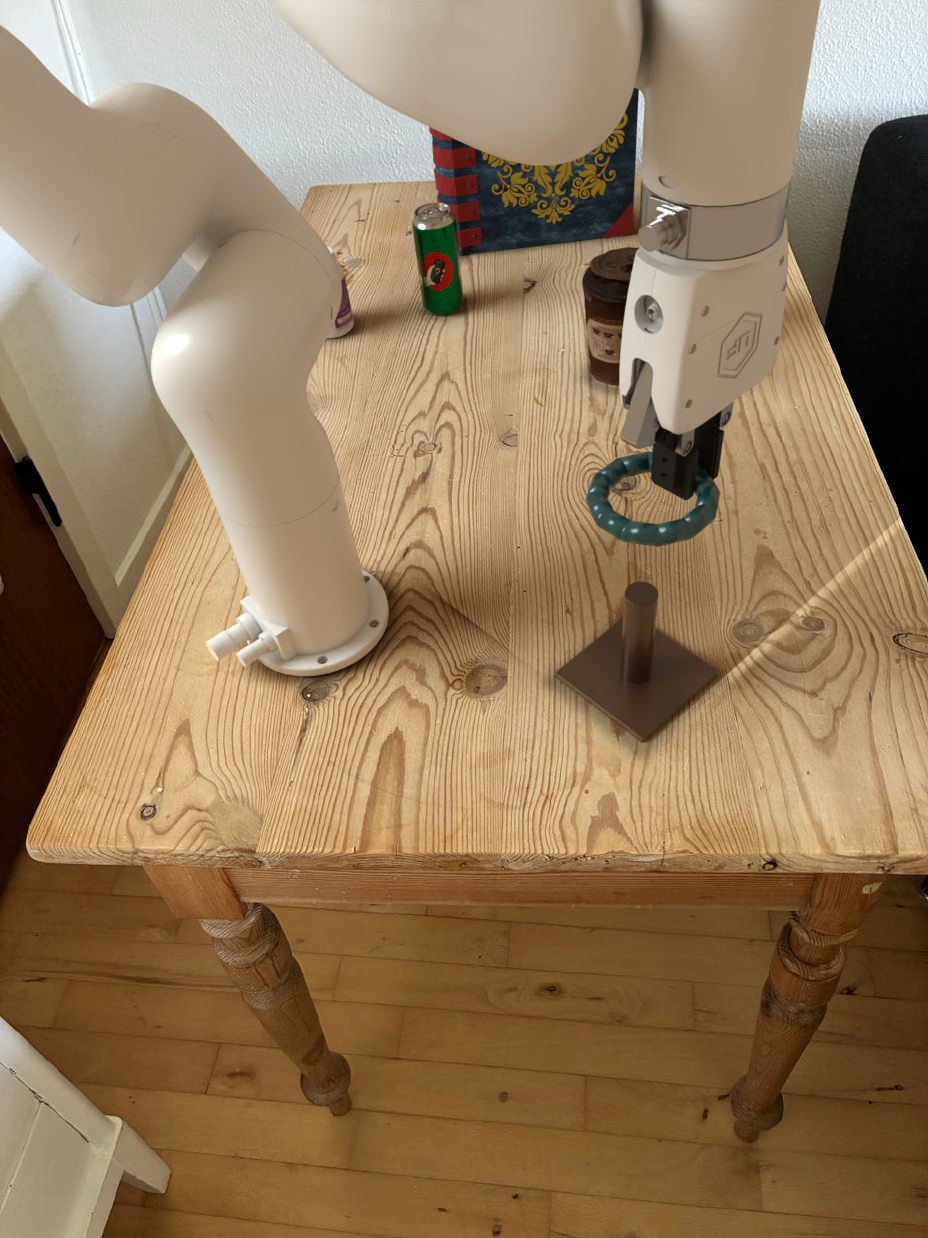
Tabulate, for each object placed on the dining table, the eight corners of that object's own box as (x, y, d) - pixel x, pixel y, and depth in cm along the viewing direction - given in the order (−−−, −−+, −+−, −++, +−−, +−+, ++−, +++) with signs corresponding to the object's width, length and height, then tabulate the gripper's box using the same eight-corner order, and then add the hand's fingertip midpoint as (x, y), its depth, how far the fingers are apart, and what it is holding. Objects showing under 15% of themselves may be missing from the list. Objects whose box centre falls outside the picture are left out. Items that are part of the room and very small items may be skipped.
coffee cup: (655, 399, 99) (664, 285, 89) (577, 396, 101) (577, 283, 91) (661, 353, 105) (669, 241, 95) (586, 350, 106) (587, 240, 97)
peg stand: (640, 747, 71) (649, 662, 63) (554, 682, 75) (552, 595, 68) (716, 679, 74) (732, 590, 67) (629, 621, 79) (635, 532, 71)
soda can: (472, 307, 115) (463, 210, 106) (437, 322, 113) (426, 225, 104) (449, 291, 118) (438, 196, 109) (415, 306, 116) (402, 210, 107)
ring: (660, 569, 58) (661, 553, 57) (561, 509, 62) (560, 493, 61) (744, 501, 61) (746, 484, 60) (644, 448, 66) (645, 432, 65)
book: (443, 259, 124) (420, 49, 105) (440, 234, 128) (418, 29, 110) (634, 236, 123) (644, 21, 105) (624, 212, 128) (632, 2, 109)
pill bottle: (348, 312, 117) (333, 237, 109) (359, 333, 113) (344, 257, 106) (306, 322, 116) (289, 248, 109) (315, 344, 112) (298, 268, 105)
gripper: (671, 294, 44) (650, 569, 58) (860, 173, 51) (801, 447, 64) (556, 247, 48) (562, 514, 62) (744, 141, 55) (712, 405, 68)
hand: (684, 478), depth 63 cm, fingers closed on ring, 1 cm apart
